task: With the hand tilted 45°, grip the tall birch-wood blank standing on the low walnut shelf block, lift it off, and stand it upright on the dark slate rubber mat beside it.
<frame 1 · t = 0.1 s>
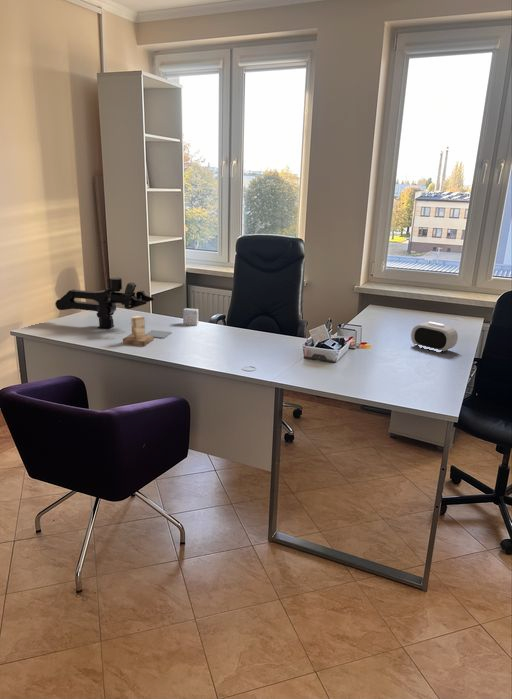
hand: (149, 301, 260), 17 cm above the table, tool horizontal, fingers open, 9 cm apart
birch blank: (138, 337, 246), point 2 cm above the table, touching walnut shelf block
medicine box: (190, 324, 283), on the table
walnut shelf block: (138, 342, 247), on the table
slate mat: (157, 334, 260), on the table
alarm clock: (431, 349, 258), on the table
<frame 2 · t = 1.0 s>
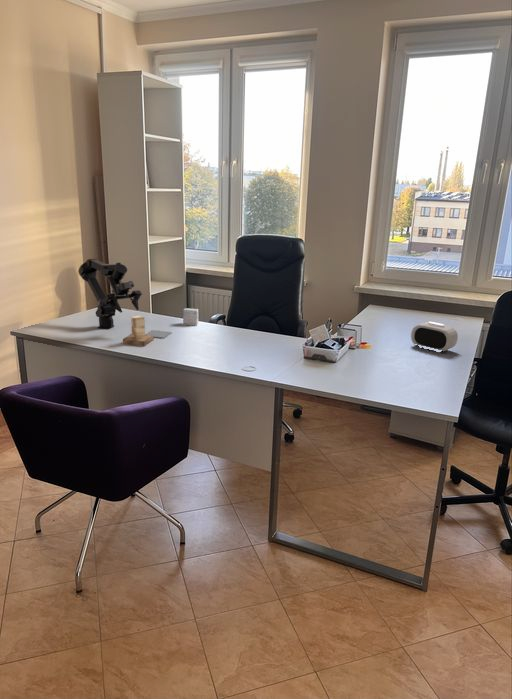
hand: (129, 310, 248), 14 cm above the table, tool tilted 45°, fingers open, 9 cm apart
nothing on the table moved.
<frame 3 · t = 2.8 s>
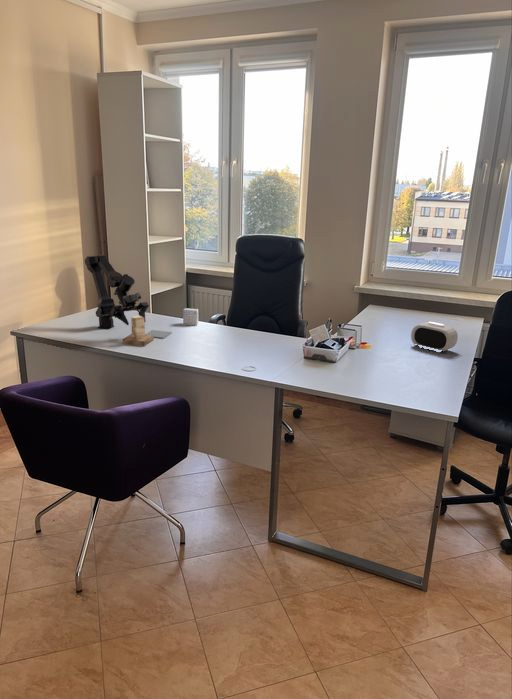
hand: (136, 323, 245), 9 cm above the table, tool tilted 45°, fingers open, 9 cm apart
nothing on the table moved.
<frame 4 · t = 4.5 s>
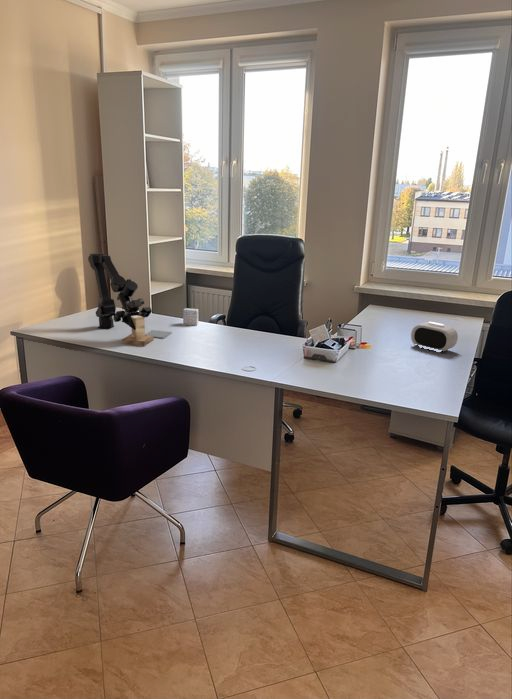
hand: (139, 328, 244), 7 cm above the table, tool tilted 45°, fingers closed on birch blank, 4 cm apart
birch blank: (138, 337, 246), point 2 cm above the table, touching gripper, walnut shelf block
everything else where it was.
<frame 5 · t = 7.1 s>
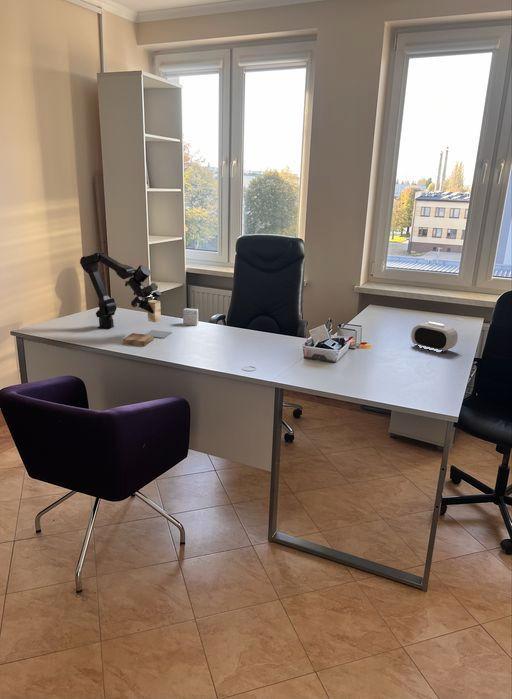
hand: (156, 312, 252), 13 cm above the table, tool tilted 45°, fingers closed on birch blank, 4 cm apart
birch blank: (154, 320, 254), point 8 cm above the table, touching gripper
everything else where it was.
when the fingers open (7 cm above the table, at t = 9.8 s): birch blank drops 1 cm, resting on slate mat.
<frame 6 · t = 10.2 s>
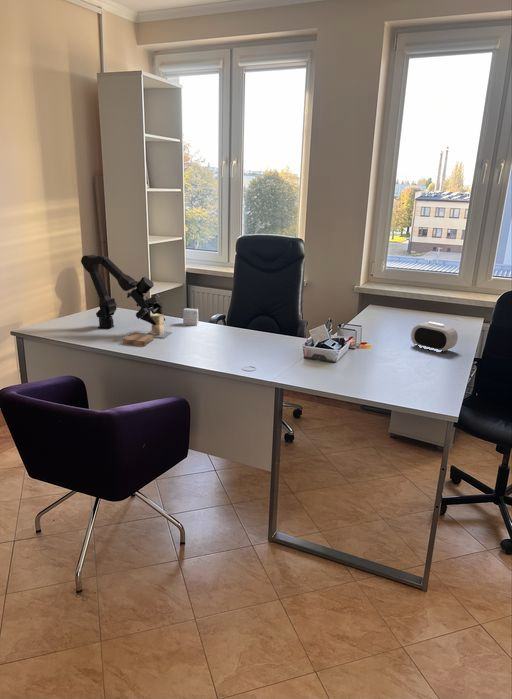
hand: (160, 322, 258), 7 cm above the table, tool tilted 45°, fingers open, 9 cm apart
birch blank: (157, 333, 260), point 1 cm above the table, touching slate mat
everything else where it was.
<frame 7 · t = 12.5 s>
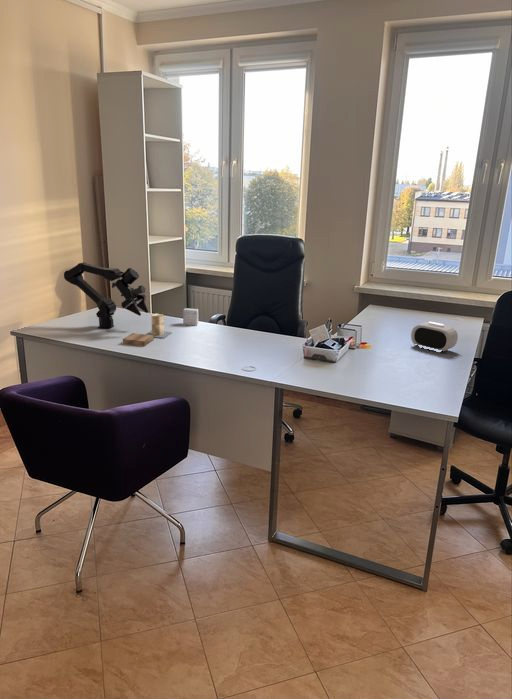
hand: (144, 313, 261), 10 cm above the table, tool tilted 40°, fingers open, 9 cm apart
nothing on the table moved.
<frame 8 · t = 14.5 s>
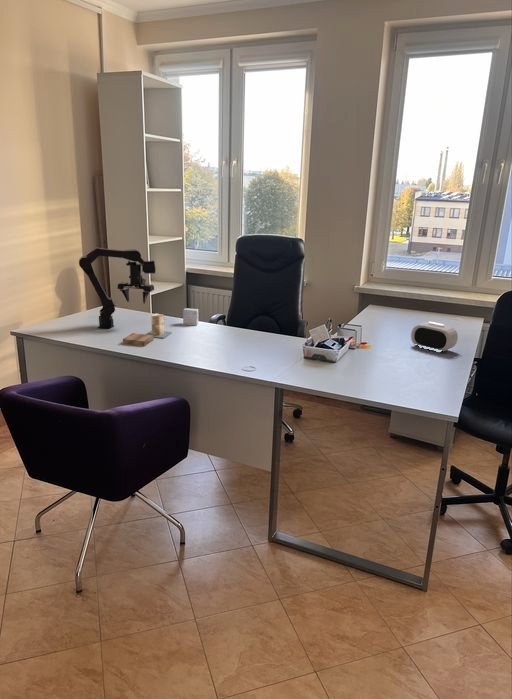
hand: (136, 302, 271), 13 cm above the table, tool pointing down, fingers open, 9 cm apart
nothing on the table moved.
at the end: birch blank inside the target area on the slate mat (0.0 cm from its centre), point 0.6 cm above the slate mat's base; birch blank tilted 0°; the gripper is holding nothing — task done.
